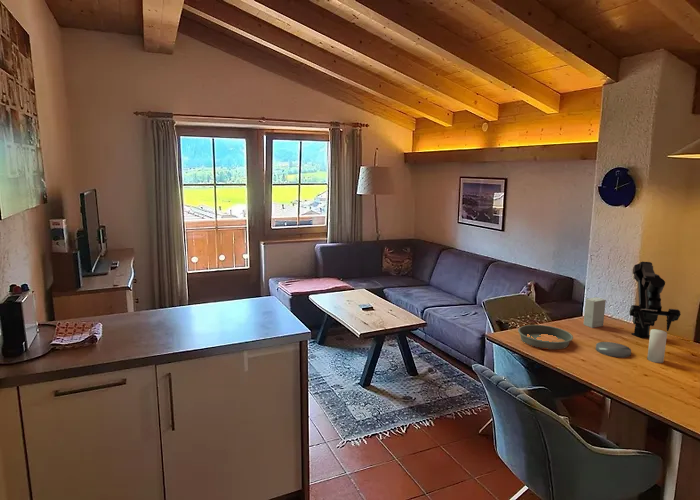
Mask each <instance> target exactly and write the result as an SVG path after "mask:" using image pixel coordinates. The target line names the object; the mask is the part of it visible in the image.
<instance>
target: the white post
mask: <svg viewBox="0 0 700 500" xmlns="http://www.w3.org/2000/svg"><path fill="white" fill-rule="evenodd" d="M649 335H650V337H649V338H648V339H649V341H648V348H647V357H646V360H648V361H649V362H651V363H655V364H656V363H657V364H662V363H664V361H665V355H666V354H665V353H666V345H667V344H666V343H667V337H668V331H666V330H661V329H654V328H653V329H650V331H649Z"/></svg>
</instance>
